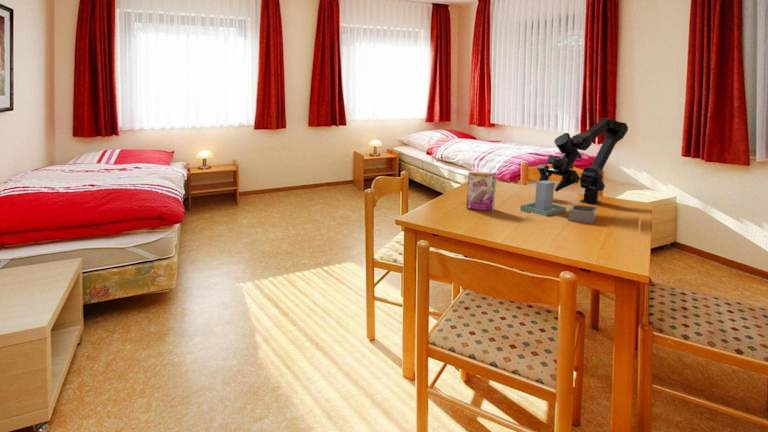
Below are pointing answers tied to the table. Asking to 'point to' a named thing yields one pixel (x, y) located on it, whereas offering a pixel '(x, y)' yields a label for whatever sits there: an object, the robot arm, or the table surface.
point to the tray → (530, 208)
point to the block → (544, 195)
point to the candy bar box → (481, 190)
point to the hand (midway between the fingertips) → (546, 188)
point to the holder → (582, 214)
